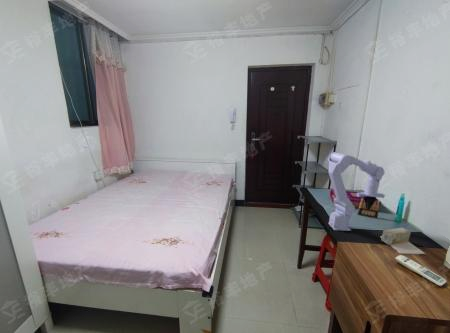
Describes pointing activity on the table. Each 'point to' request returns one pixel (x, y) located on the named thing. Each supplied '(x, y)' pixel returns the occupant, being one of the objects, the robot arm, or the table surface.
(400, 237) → the skincare box
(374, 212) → the ammunition clip
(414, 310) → the table surface
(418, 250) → the mat
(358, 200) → the book
